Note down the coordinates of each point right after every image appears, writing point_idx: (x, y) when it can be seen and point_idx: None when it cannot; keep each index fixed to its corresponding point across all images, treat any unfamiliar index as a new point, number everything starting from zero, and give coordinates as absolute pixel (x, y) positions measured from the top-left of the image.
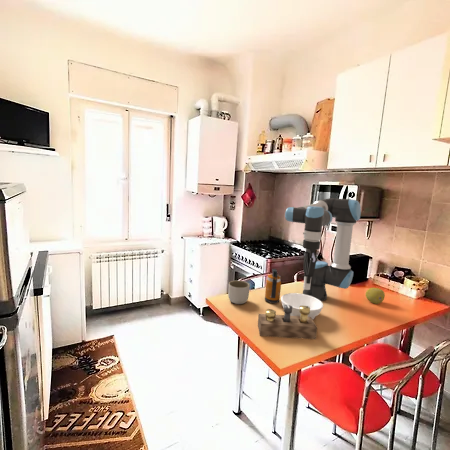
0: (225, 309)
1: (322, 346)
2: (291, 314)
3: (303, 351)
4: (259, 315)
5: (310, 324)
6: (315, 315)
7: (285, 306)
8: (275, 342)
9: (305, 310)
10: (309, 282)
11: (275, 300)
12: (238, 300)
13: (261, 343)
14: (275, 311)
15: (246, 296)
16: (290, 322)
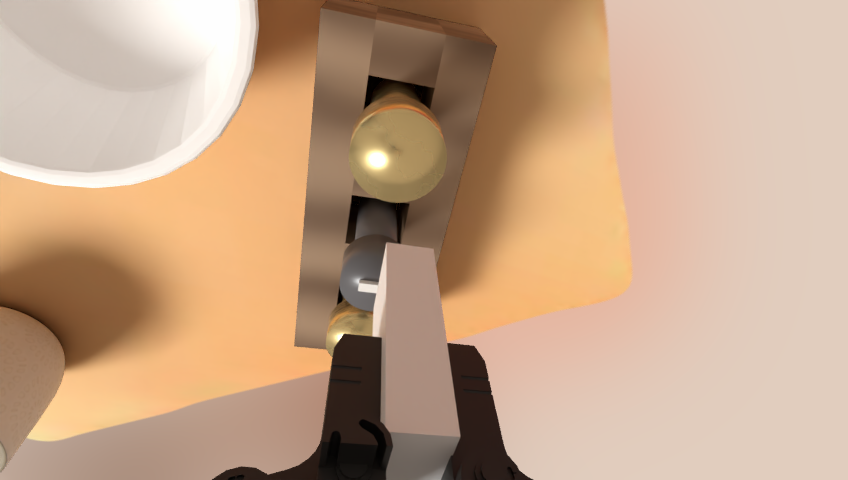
0: (152, 397)
1: (559, 25)
2: (183, 93)
3: (570, 165)
4: (317, 346)
5: (448, 81)
6: None
7: (373, 302)
8: (471, 264)
9: (442, 171)
10: (481, 372)
11: None
12: (59, 370)
13: (469, 317)
14: (359, 321)
15: (10, 350)
16: (408, 212)
